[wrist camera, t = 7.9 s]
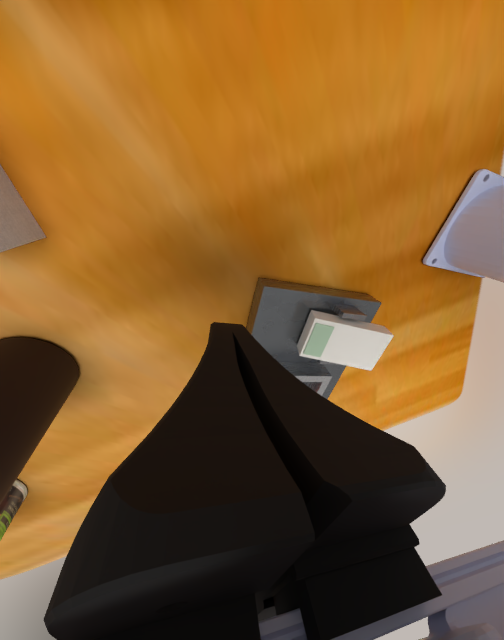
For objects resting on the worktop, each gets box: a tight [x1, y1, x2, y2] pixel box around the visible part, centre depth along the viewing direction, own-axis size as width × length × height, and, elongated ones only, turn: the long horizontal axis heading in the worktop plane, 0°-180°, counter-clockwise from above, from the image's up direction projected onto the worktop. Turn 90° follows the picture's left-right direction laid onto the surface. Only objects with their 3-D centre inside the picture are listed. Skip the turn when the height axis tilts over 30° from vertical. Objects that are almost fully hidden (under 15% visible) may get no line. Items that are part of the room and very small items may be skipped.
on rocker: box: [297, 310, 394, 371], centre depth 20 cm, size 7×4×2 cm, turn 77°
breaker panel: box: [246, 278, 381, 399], centre depth 23 cm, size 12×16×4 cm
